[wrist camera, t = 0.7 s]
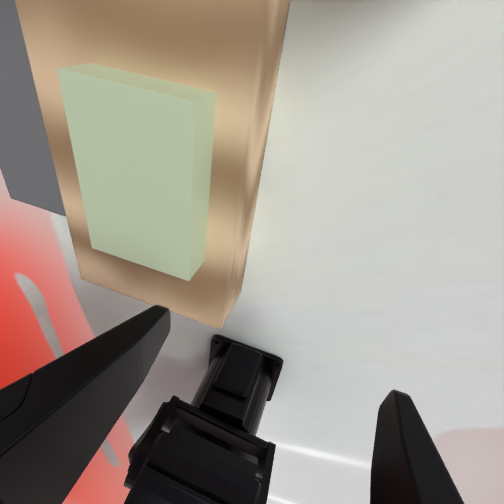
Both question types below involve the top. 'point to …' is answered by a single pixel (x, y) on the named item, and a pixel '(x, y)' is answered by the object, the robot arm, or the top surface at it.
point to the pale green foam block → (142, 164)
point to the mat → (23, 122)
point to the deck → (183, 72)
